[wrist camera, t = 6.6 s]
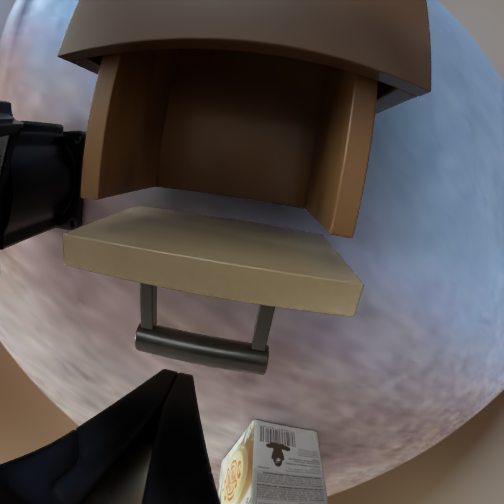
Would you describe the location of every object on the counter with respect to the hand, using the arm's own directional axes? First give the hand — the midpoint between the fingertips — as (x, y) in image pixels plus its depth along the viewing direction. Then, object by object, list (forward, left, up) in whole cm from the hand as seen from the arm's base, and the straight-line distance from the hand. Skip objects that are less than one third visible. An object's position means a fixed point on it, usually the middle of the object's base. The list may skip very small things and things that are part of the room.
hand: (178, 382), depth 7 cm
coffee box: (-18, -6, -10) cm, 21 cm away
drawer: (+6, 0, -9) cm, 11 cm away
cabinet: (+16, 0, -10) cm, 19 cm away
